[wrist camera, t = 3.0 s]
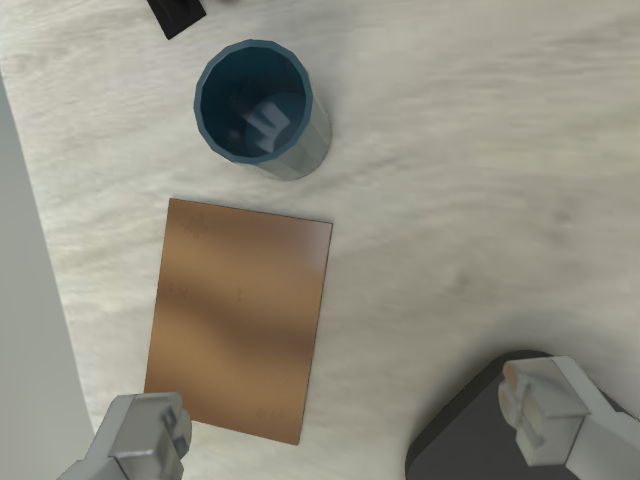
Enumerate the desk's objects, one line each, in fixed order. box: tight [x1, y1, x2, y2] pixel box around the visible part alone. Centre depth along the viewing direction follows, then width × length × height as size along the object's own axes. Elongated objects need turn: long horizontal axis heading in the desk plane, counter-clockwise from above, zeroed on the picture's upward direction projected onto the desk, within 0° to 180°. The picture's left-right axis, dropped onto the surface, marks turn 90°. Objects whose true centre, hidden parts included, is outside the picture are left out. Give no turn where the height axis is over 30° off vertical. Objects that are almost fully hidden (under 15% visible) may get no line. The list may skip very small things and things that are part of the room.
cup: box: [194, 39, 331, 181], centre depth 26 cm, size 7×7×8 cm
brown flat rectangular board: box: [144, 198, 333, 446], centre depth 31 cm, size 17×13×1 cm
